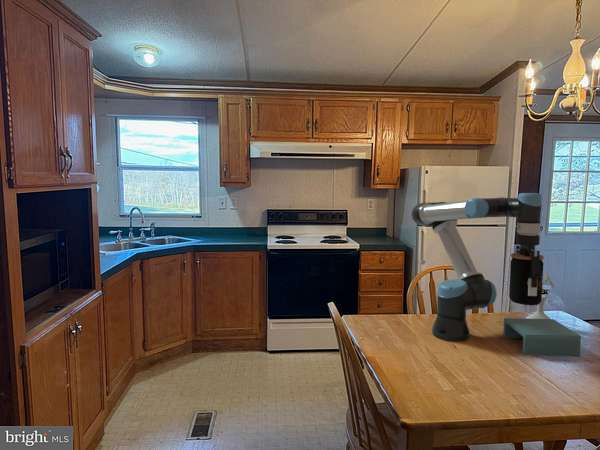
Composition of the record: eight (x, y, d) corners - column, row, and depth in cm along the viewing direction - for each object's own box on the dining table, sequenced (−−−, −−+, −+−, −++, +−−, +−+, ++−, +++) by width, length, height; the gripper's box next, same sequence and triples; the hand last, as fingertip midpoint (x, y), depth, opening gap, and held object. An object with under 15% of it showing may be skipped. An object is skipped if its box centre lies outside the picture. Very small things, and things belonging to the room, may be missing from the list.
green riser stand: (524, 354, 145) (525, 334, 144) (503, 336, 163) (504, 318, 162) (579, 356, 143) (581, 335, 143) (551, 337, 161) (553, 319, 160)
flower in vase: (549, 331, 167) (553, 276, 165) (521, 324, 176) (524, 271, 173) (558, 324, 176) (562, 271, 173) (531, 318, 185) (534, 267, 182)
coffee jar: (528, 307, 138) (531, 258, 136) (502, 299, 148) (504, 254, 146) (547, 303, 142) (550, 256, 141) (521, 296, 152) (523, 252, 150)
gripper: (505, 230, 155) (503, 283, 157) (531, 237, 132) (528, 299, 134) (525, 230, 153) (522, 284, 156) (555, 238, 131) (551, 300, 133)
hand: (525, 291), depth 145 cm, fingers closed on coffee jar, 11 cm apart
